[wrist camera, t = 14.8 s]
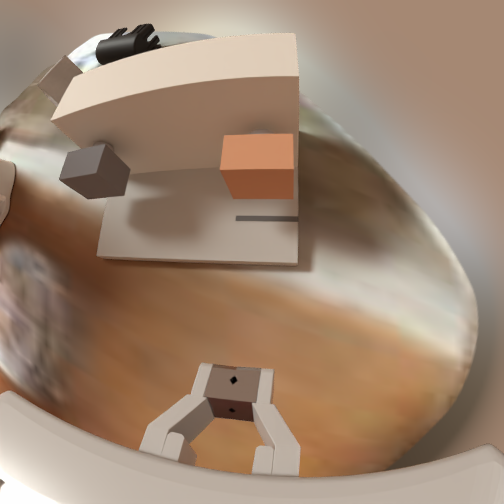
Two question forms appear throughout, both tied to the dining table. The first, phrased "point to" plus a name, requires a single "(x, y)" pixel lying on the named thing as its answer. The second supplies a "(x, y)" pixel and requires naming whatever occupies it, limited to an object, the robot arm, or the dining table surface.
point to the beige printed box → (59, 79)
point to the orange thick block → (258, 165)
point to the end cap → (126, 44)
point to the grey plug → (95, 172)
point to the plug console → (190, 147)
